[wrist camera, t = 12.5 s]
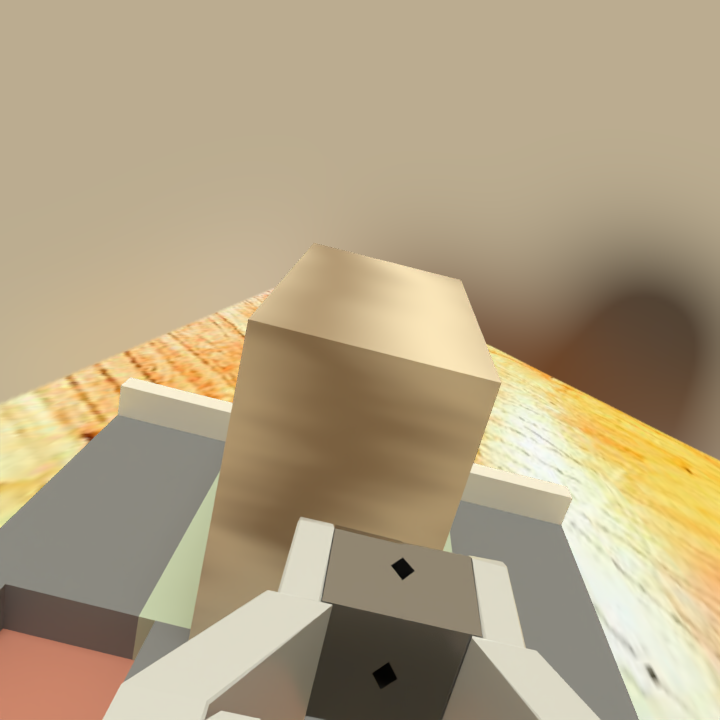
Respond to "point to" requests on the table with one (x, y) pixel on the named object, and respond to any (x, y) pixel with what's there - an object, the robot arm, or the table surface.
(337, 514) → the maple block
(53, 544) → the trap runway
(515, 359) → the table surface
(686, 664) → the table surface
